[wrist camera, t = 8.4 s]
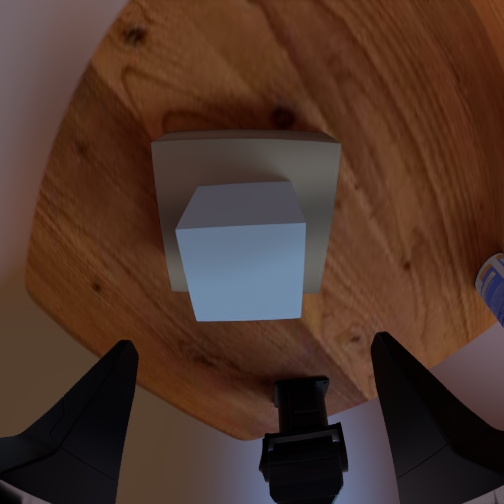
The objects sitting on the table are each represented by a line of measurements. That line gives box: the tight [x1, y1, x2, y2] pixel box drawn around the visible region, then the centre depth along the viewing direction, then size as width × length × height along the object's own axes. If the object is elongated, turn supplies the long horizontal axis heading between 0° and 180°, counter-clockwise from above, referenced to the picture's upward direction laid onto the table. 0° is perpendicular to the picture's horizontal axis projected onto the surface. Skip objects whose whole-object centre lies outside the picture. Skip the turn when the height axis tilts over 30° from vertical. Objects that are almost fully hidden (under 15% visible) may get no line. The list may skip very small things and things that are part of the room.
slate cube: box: [175, 181, 306, 321], centre depth 14 cm, size 5×5×5 cm
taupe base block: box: [151, 129, 341, 293], centre depth 18 cm, size 10×10×4 cm
